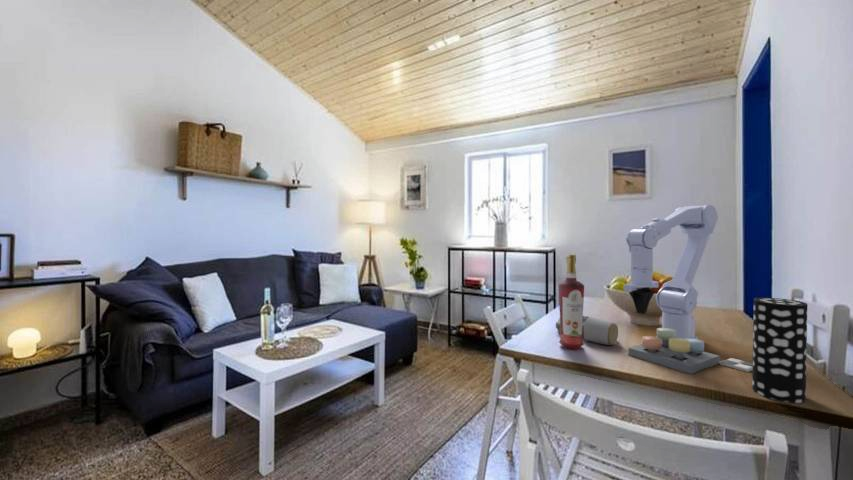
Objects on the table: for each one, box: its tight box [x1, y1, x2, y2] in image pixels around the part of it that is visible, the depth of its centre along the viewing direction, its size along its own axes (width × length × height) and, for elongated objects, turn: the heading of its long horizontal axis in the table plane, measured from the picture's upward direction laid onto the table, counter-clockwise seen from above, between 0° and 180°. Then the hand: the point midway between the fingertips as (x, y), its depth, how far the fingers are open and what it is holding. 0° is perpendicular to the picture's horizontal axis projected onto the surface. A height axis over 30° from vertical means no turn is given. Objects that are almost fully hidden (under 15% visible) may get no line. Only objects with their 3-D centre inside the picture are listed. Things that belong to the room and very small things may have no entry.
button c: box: [641, 335, 662, 353], centre depth 103 cm, size 5×5×5 cm
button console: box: [628, 343, 720, 375], centre depth 101 cm, size 14×16×2 cm
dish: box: [555, 315, 591, 339], centre depth 127 cm, size 14×14×5 cm
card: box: [719, 357, 753, 373], centre depth 96 cm, size 6×6×1 cm
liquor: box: [557, 254, 585, 350], centre depth 112 cm, size 7×7×28 cm
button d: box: [669, 338, 690, 360], centre depth 97 cm, size 5×5×5 cm
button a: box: [656, 327, 676, 348], centre depth 106 cm, size 5×5×5 cm
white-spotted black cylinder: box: [751, 297, 809, 404], centre depth 80 cm, size 8×8×20 cm
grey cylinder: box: [584, 316, 619, 346], centre depth 117 cm, size 11×8×8 cm
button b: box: [686, 338, 705, 356], centre depth 100 cm, size 5×5×5 cm
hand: (641, 313), depth 113 cm, fingers closed
